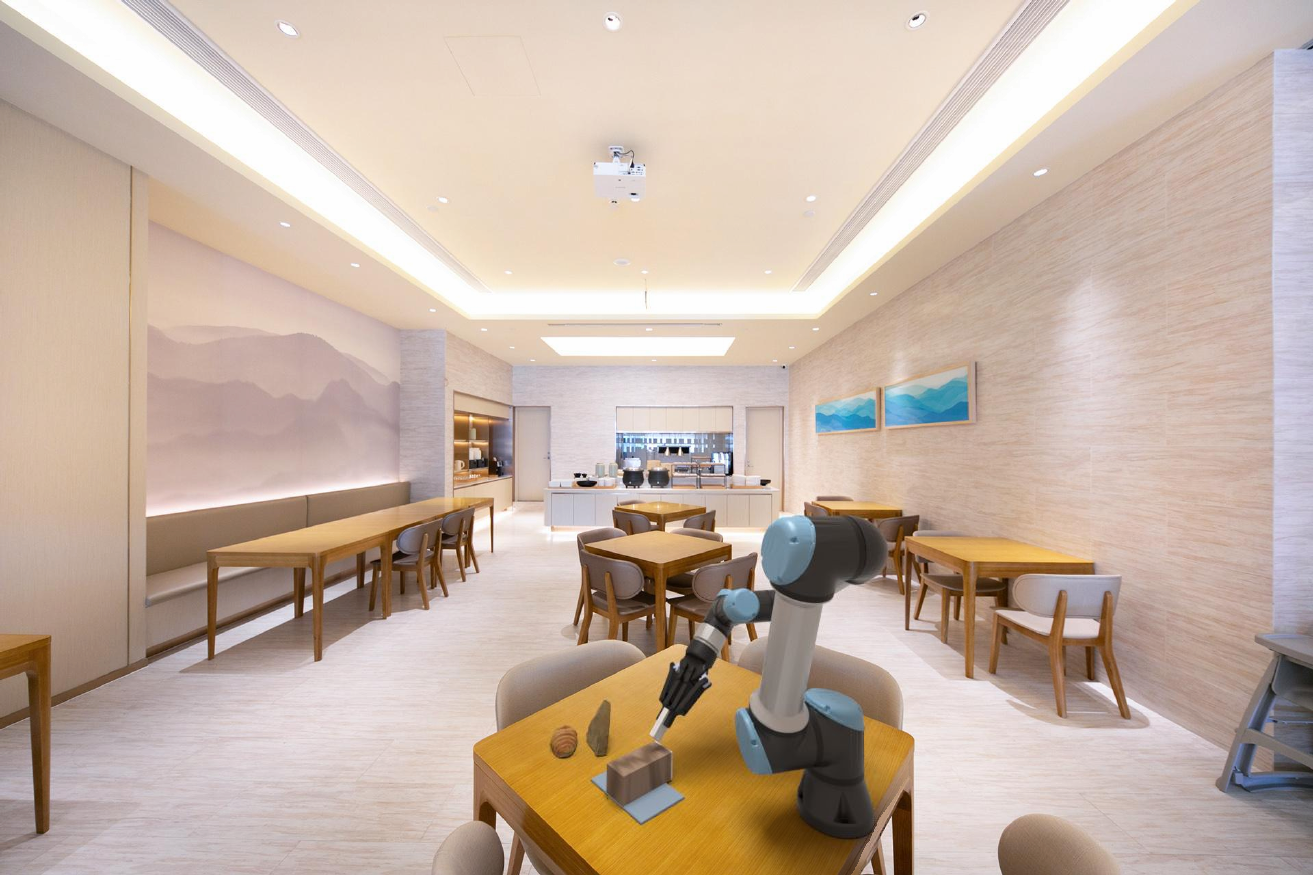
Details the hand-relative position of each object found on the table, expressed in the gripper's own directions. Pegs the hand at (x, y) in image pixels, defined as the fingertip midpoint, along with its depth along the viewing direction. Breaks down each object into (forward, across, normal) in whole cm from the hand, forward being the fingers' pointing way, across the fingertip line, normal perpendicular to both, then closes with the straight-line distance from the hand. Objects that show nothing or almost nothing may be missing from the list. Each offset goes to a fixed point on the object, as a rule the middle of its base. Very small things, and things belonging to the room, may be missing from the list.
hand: (654, 738), depth 113 cm
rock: (+8, +20, -5) cm, 22 cm away
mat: (+10, 0, -3) cm, 10 cm away
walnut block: (+2, 0, -6) cm, 6 cm away
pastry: (+13, +24, -1) cm, 28 cm away
